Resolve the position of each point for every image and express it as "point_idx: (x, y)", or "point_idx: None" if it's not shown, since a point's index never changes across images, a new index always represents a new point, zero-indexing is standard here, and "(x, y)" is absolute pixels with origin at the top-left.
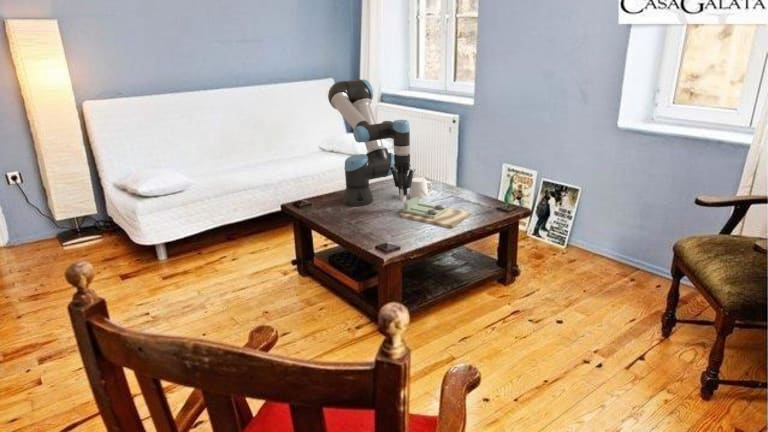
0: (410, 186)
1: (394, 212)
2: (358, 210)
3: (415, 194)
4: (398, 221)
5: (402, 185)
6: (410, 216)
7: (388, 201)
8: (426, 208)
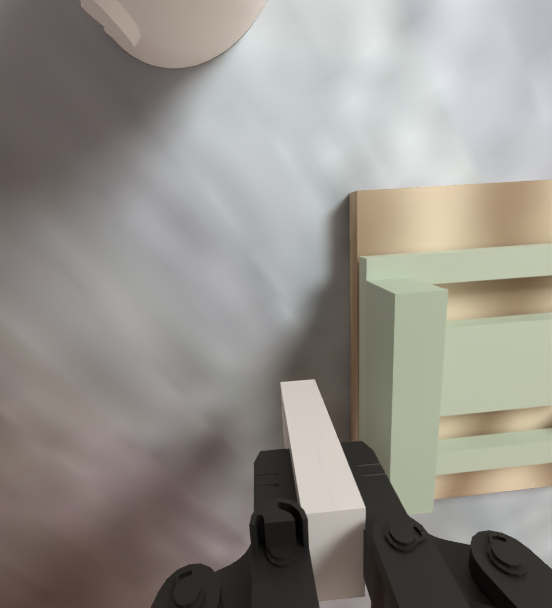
0: (535, 568)
1: None
2: (5, 575)
3: (202, 21)
4: None
5: (311, 593)
6: (454, 496)
7: (26, 287)
8: (539, 352)
